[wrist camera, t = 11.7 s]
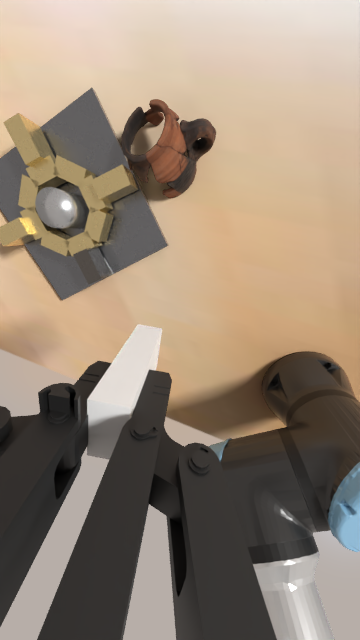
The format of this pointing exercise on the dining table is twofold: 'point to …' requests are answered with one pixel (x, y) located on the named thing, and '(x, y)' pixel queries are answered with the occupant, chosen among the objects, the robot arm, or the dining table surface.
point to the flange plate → (68, 202)
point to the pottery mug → (168, 147)
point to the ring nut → (53, 174)
